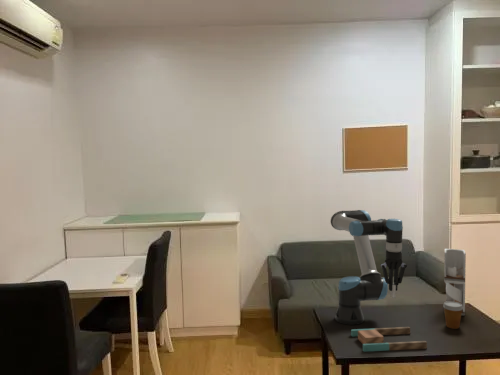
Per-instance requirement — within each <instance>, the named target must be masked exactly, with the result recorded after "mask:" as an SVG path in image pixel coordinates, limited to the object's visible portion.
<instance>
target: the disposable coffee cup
mask: <svg viewBox="0 0 500 375" xmlns="http://www.w3.org/2000/svg"><path fill="white" fill-rule="evenodd" d="M442 306H443V313H444V312H445V313H444V317H445V325H446V327H447V328H449V329H453V330H454V329H455V330H456V329H460V326H461V319H462V315H461V313H462V309H463V307H462V304H460V303H458V302H451V301H449V302H446V301H444V302H443V305H442Z"/></svg>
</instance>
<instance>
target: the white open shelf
mask: <svg viewBox="0 0 500 375" xmlns="http://www.w3.org/2000/svg"><path fill="white" fill-rule="evenodd" d="M443 253H444V258H443V260H444V261H443V262H444V265H443V266H444V269H443V270H444V272H443V273H444V274H443V280H444V283H445V302H449V301H451V302H458V303H460V304H462V307H463V309H462V313H461V316H465V315H466V259H467V258H466V250H465V249H458V248H457V249H456V248H455V249H454V248H444V252H443ZM443 313H444V314H445V312H444V311H443Z"/></svg>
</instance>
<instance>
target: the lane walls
mask: <svg viewBox="0 0 500 375" xmlns="http://www.w3.org/2000/svg"><path fill="white" fill-rule="evenodd" d="M374 329H375V330H377V331H378V332H379V333H380V334H381V335H382V336H389V335H390V336H391V335H394V336H395V335H410V334H411V327H410V326H398V327H395V326H393V327H379V328H378V327H375V328H374ZM388 343H389V350H388V351H400V350H401V351H402V350H421V349H423V350H424V349H427V348H428V342H427V341H426V340H417V341H416V340H415V341H414V340H413V341H395V342H388Z"/></svg>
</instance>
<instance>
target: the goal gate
mask: <svg viewBox="0 0 500 375" xmlns="http://www.w3.org/2000/svg"><path fill="white" fill-rule="evenodd" d="M361 330H374V328H373V327H372V328H357V329H356V328H354V329H351V330H350V337H353V338H354V337H358V331H361ZM389 343H390V342H383V343H371V344H362V351H363V353H365V352H380V351H386V352H387V351H390V350H389Z"/></svg>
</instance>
